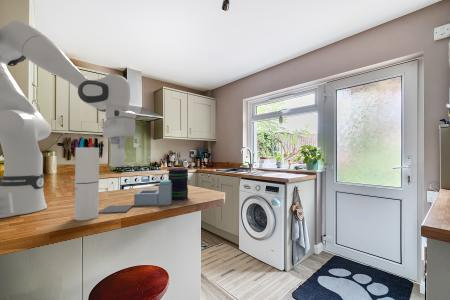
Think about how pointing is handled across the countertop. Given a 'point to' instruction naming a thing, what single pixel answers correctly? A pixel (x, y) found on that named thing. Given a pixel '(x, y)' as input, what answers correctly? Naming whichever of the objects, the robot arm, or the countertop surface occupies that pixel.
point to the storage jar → (179, 184)
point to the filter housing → (154, 196)
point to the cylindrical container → (86, 183)
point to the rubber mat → (116, 209)
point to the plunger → (165, 182)
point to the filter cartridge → (116, 154)
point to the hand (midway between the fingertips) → (117, 148)
